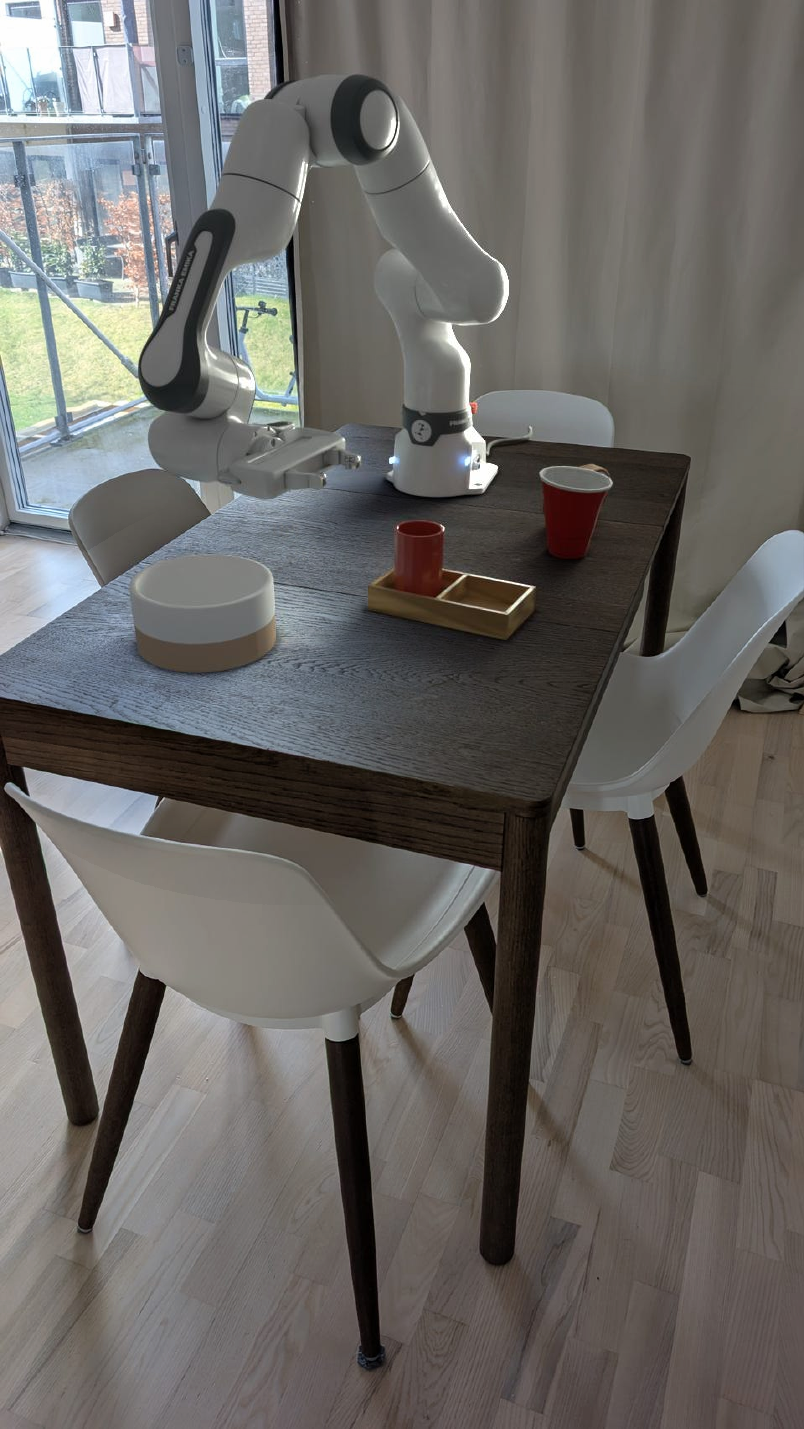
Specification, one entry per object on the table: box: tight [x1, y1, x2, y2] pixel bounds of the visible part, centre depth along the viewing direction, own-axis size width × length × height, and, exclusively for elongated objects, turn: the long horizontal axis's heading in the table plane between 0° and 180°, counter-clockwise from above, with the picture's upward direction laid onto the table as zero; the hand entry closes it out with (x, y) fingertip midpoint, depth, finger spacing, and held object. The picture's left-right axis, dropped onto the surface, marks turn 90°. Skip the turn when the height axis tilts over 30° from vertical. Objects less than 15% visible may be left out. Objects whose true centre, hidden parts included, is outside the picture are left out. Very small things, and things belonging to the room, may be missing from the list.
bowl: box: [128, 553, 277, 674], centre depth 127 cm, size 17×17×8 cm
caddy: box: [367, 566, 537, 641], centre depth 137 cm, size 10×20×4 cm, turn 63°
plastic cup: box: [538, 465, 614, 560], centre depth 154 cm, size 11×11×12 cm
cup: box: [393, 519, 445, 598], centre depth 137 cm, size 6×6×10 cm
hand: (341, 472), depth 136 cm, fingers open, 8 cm apart
